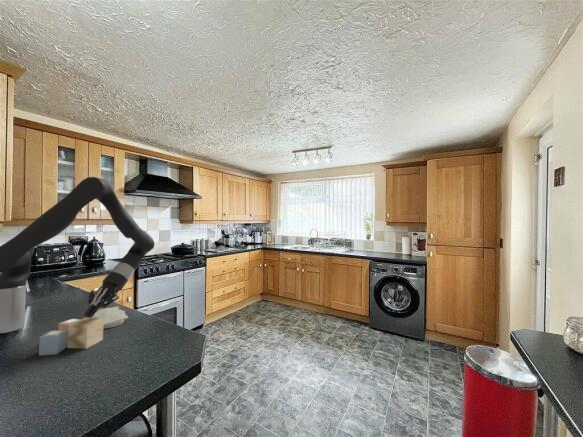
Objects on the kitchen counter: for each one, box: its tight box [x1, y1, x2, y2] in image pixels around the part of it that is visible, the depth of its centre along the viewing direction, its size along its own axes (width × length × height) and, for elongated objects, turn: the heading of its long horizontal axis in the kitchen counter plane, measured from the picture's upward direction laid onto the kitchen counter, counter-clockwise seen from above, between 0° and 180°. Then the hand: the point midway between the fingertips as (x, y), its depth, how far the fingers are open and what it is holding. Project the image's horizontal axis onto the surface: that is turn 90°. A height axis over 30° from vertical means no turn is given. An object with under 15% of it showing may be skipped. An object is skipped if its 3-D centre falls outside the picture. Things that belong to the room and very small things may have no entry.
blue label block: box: [38, 329, 68, 356], centre depth 85 cm, size 5×5×6 cm
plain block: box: [66, 317, 104, 350], centre depth 90 cm, size 7×7×8 cm
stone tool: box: [91, 306, 129, 330], centre depth 113 cm, size 13×4×25 cm
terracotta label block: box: [57, 318, 81, 342], centre depth 95 cm, size 5×5×6 cm
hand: (87, 316), depth 90 cm, fingers closed
